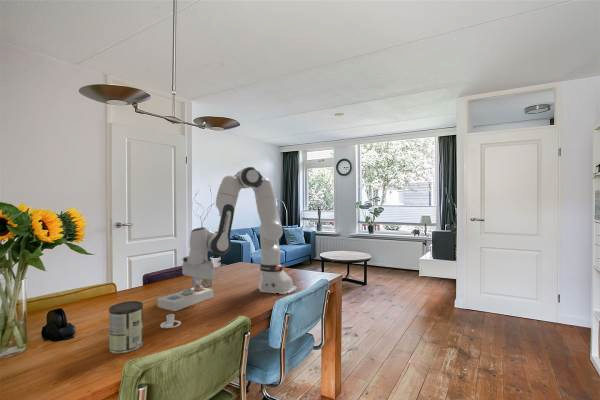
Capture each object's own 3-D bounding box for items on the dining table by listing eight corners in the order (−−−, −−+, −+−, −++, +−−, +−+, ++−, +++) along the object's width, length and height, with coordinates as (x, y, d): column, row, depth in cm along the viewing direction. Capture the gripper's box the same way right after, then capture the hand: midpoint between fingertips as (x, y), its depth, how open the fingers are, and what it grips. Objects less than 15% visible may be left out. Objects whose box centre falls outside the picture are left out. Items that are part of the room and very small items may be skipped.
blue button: (180, 302, 149) (180, 296, 149) (173, 305, 145) (173, 298, 145) (174, 301, 151) (174, 295, 151) (167, 303, 147) (167, 297, 147)
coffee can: (119, 339, 112) (119, 301, 112) (148, 339, 113) (148, 300, 113) (102, 354, 102) (102, 311, 102) (133, 353, 103) (134, 310, 103)
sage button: (193, 295, 156) (193, 289, 156) (186, 297, 152) (186, 291, 152) (187, 294, 158) (187, 288, 158) (180, 296, 154) (180, 290, 154)
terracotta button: (204, 291, 162) (204, 285, 162) (198, 293, 158) (198, 287, 158) (198, 290, 164) (198, 284, 164) (192, 292, 161) (192, 286, 161)
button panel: (197, 293, 168) (197, 286, 168) (213, 297, 162) (213, 289, 162) (157, 306, 147) (157, 298, 147) (174, 311, 141) (174, 302, 141)
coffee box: (205, 284, 187) (205, 257, 187) (212, 286, 183) (212, 258, 183) (192, 287, 180) (192, 259, 180) (198, 289, 176) (198, 261, 176)
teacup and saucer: (169, 331, 121) (169, 321, 121) (153, 328, 124) (153, 318, 124) (185, 323, 129) (185, 313, 129) (170, 320, 132) (170, 310, 132)
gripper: (217, 260, 159) (217, 287, 159) (189, 256, 169) (189, 281, 169) (208, 262, 153) (207, 290, 153) (180, 258, 164) (179, 284, 164)
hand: (198, 285), depth 161 cm, fingers closed
